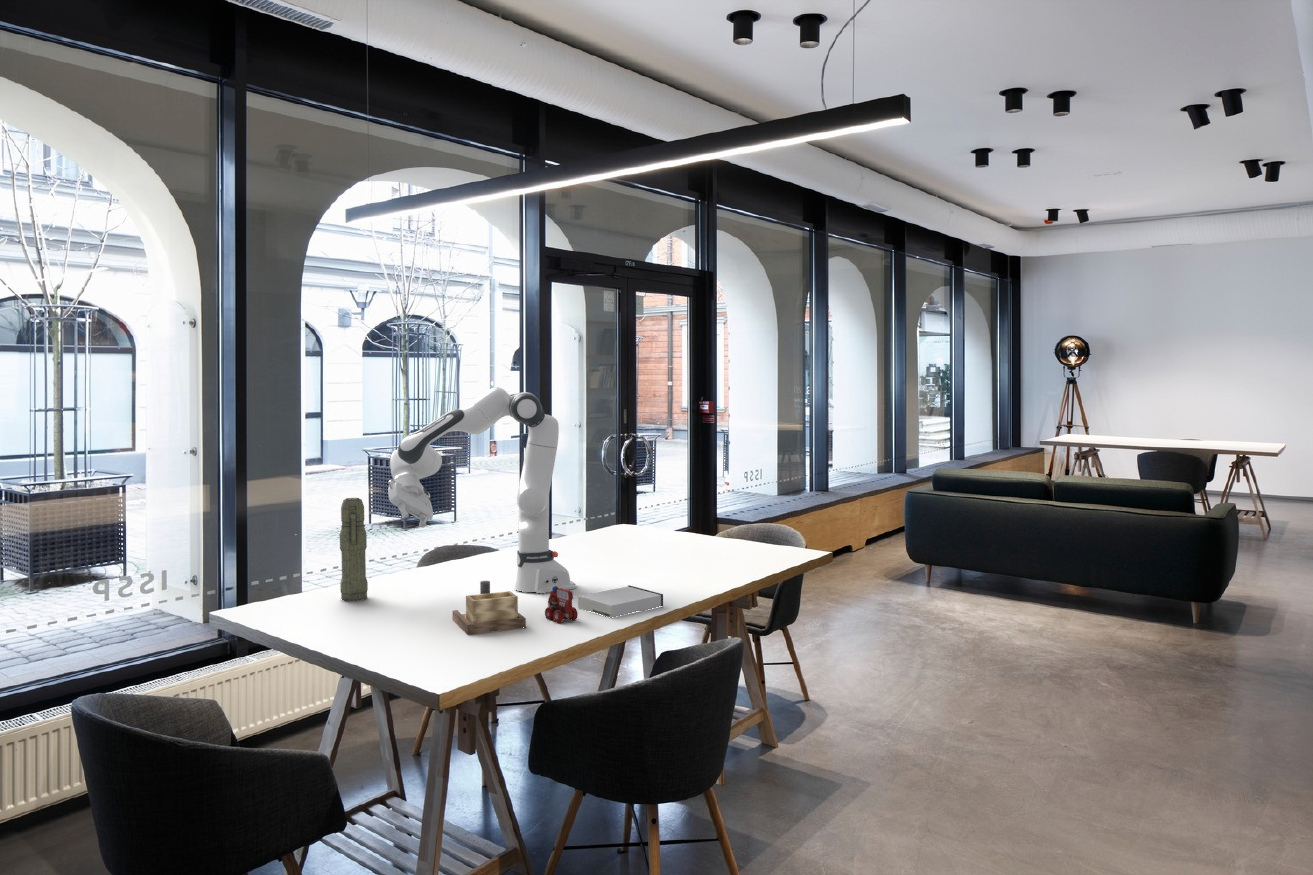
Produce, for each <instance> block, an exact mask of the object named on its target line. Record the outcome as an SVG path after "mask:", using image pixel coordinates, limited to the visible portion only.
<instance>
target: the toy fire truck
mask: <svg viewBox="0 0 1313 875" xmlns="http://www.w3.org/2000/svg"><path fill="white" fill-rule="evenodd" d="M573 599H574V595H573V591H572V590H570V589H569V590H566V589H562V588H558V587H557V586H554V587H553V588H552V591H551V592H550V593H549V597H548V601H547V607H546V608H545V610H544V615H545V619H547V618H548V619H552V620H553V621H554V623H556V622H557V623H556V624H561V623H563V622H564V620H567V619H568V620H570V619H572V620H571V621H576V620H577V619H578V616H579V615H578V614H579V613H578V610H577V609H576V607H574V606H573ZM548 619H547V620H548ZM575 619H576V620H575Z"/></svg>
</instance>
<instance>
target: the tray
mask: <svg viewBox="0 0 1313 875" xmlns="http://www.w3.org/2000/svg"><path fill="white" fill-rule="evenodd" d="M451 615H452V621H453V622H454V623H455V624H456V625H457V626H458V627H459V628H460V629H461V630H462V631H463V632H464V633H465V634H466V635H468V636H469V635H476V634H485V633H493V632H495V633H496V632H502V631H509V630H510V631H511V630H518V628H519V629H524V628H523V627H527V626H526V624H527V619H526V618H527V617H525V616H524V615H522V614H521V613H519V612H518V618H514V619H506V620H497V621H489V622H480V623H470V622H469V621H468V620H467V619H466V613H461V612H460V611H459V610H458V609H456V610H455V609H453V610H452V614H451Z"/></svg>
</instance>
